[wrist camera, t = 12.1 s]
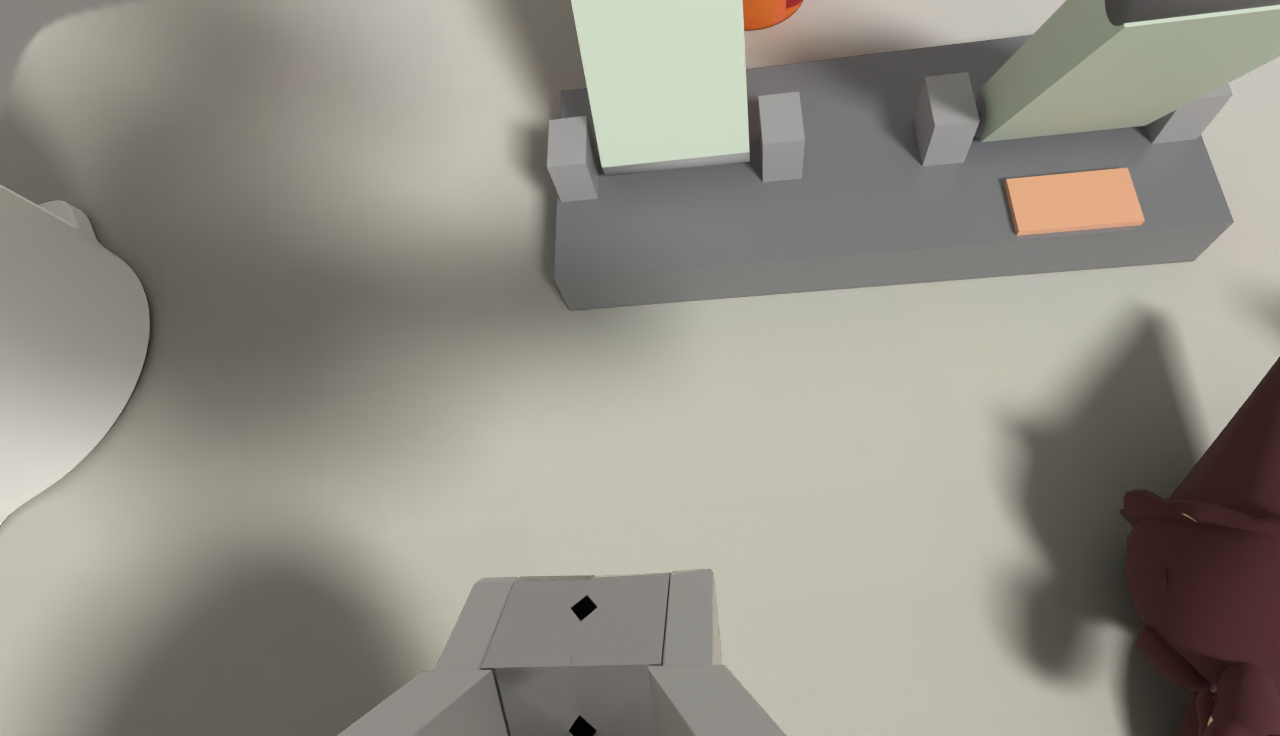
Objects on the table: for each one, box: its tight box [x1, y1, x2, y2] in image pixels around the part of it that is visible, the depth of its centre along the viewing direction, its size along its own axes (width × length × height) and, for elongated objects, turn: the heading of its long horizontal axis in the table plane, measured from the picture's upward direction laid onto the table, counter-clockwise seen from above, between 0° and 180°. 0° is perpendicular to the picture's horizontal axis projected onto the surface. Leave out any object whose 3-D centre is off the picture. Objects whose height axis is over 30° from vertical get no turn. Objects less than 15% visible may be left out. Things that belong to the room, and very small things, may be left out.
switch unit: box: [547, 35, 1234, 310], centre depth 31 cm, size 26×10×5 cm, turn 91°
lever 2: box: [975, 0, 1280, 142], centre depth 23 cm, size 6×2×13 cm, turn 91°
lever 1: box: [571, 0, 750, 176], centre depth 27 cm, size 6×2×13 cm, turn 91°
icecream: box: [1120, 357, 1280, 736], centre depth 23 cm, size 7×7×15 cm
